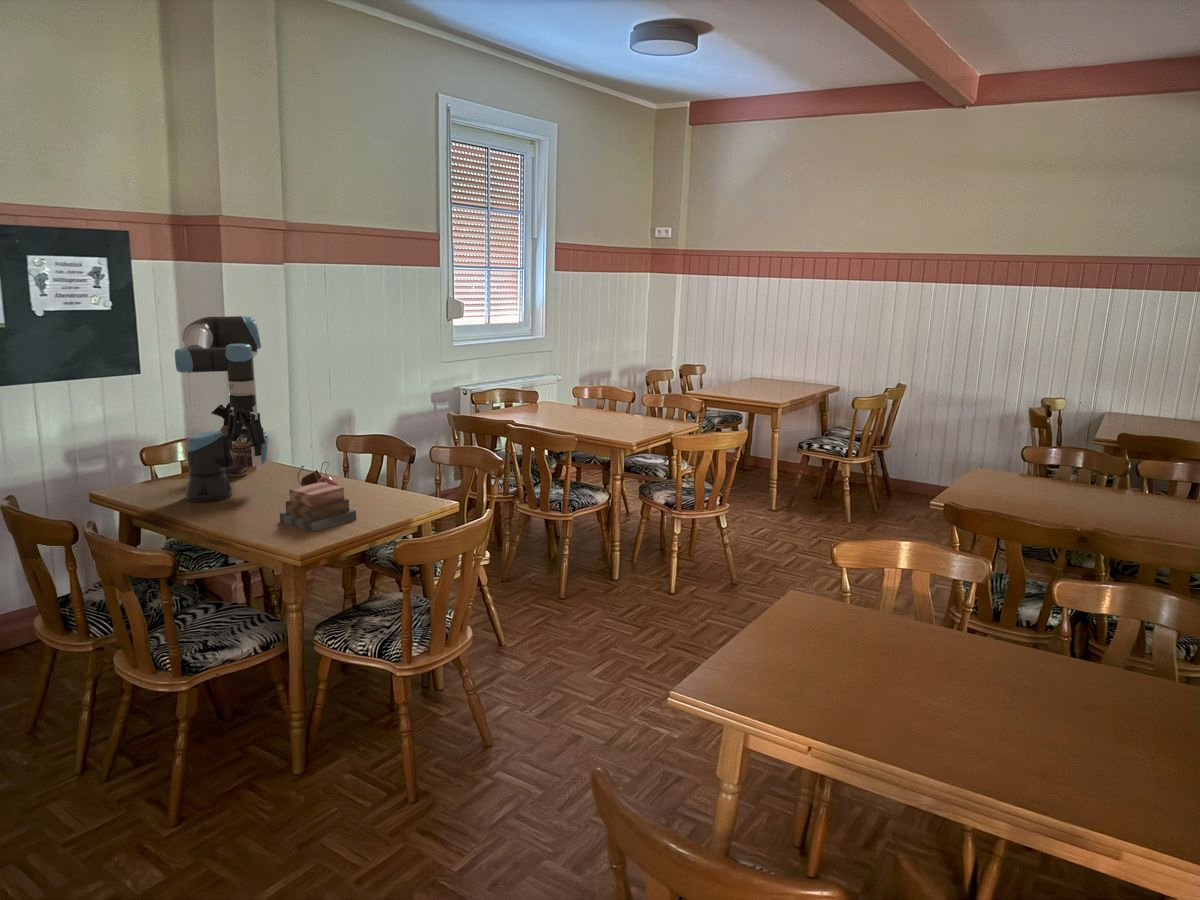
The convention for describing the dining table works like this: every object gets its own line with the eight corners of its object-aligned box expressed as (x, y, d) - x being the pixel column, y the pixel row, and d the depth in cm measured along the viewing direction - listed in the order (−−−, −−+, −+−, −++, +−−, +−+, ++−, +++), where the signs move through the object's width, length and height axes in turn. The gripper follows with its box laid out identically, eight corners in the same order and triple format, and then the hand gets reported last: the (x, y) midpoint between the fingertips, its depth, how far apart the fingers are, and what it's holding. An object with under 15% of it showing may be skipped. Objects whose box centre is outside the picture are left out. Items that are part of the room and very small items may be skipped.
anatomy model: (325, 496, 286) (305, 456, 291) (309, 518, 296) (290, 479, 300) (353, 490, 295) (334, 451, 299) (337, 511, 304) (318, 473, 308)
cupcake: (252, 459, 269) (250, 429, 267) (270, 464, 264) (267, 433, 262) (224, 465, 262) (222, 434, 259) (242, 469, 256) (240, 438, 254)
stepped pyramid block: (280, 522, 269) (277, 489, 267) (323, 510, 283) (322, 479, 280) (312, 532, 260) (310, 498, 257) (356, 519, 273) (354, 487, 271)
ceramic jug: (208, 480, 319) (201, 404, 312) (217, 471, 333) (211, 397, 327) (254, 479, 322) (248, 403, 316) (262, 469, 337) (256, 397, 330)
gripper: (210, 391, 261) (216, 459, 266) (252, 399, 249) (257, 470, 254) (232, 388, 267) (238, 455, 272) (274, 396, 255) (279, 466, 260)
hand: (247, 463), depth 263 cm, fingers closed on cupcake, 10 cm apart
